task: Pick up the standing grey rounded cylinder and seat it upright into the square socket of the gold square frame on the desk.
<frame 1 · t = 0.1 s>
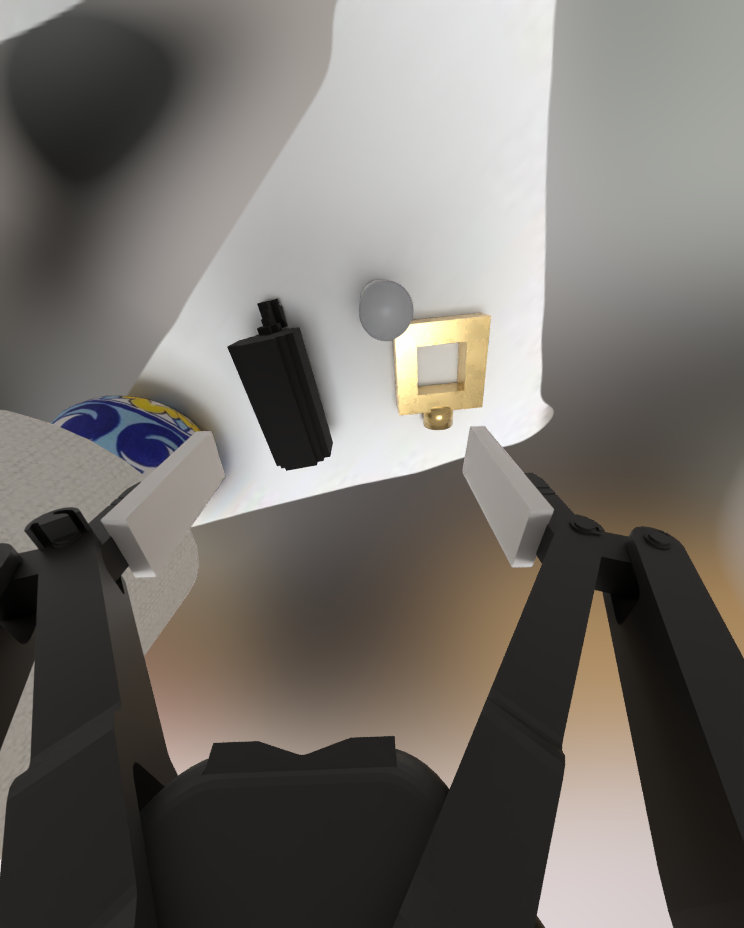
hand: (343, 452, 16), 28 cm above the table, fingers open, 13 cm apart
table lamp: (162, 444, 46), on the table
grey rounded cylinder: (378, 301, 37), on the table
security camera: (294, 376, 42), on the table
gold square frame: (435, 362, 41), on the table
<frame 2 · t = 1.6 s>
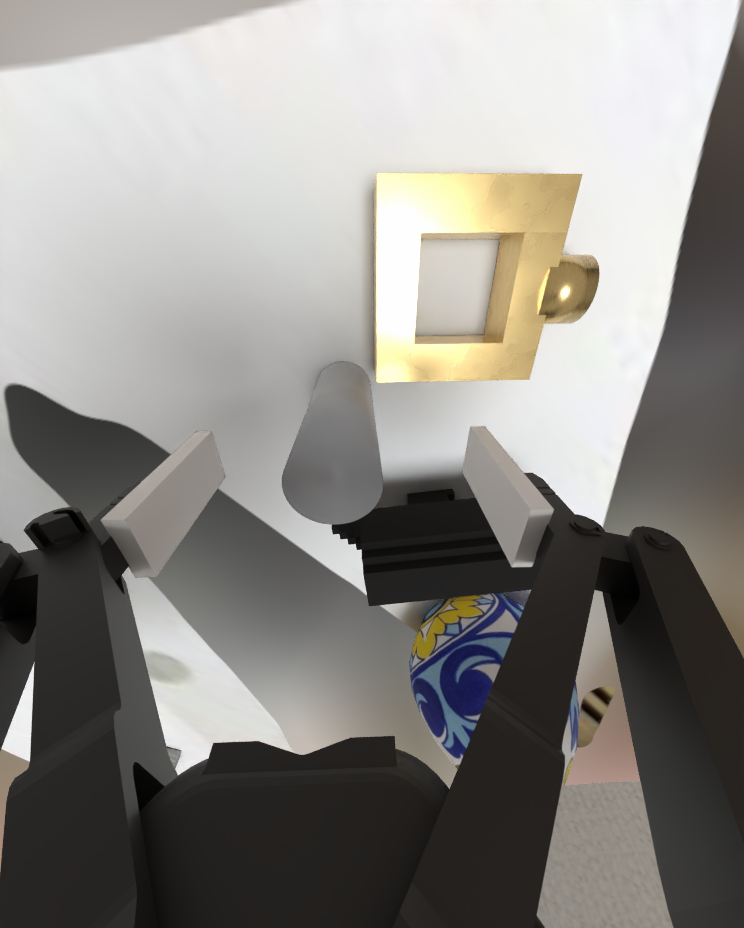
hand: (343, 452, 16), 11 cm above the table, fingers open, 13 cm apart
table lamp: (469, 621, 44), on the table
grey rounded cylinder: (344, 388, 25), on the table
security camera: (422, 499, 32), on the table
gold square frame: (450, 290, 22), on the table
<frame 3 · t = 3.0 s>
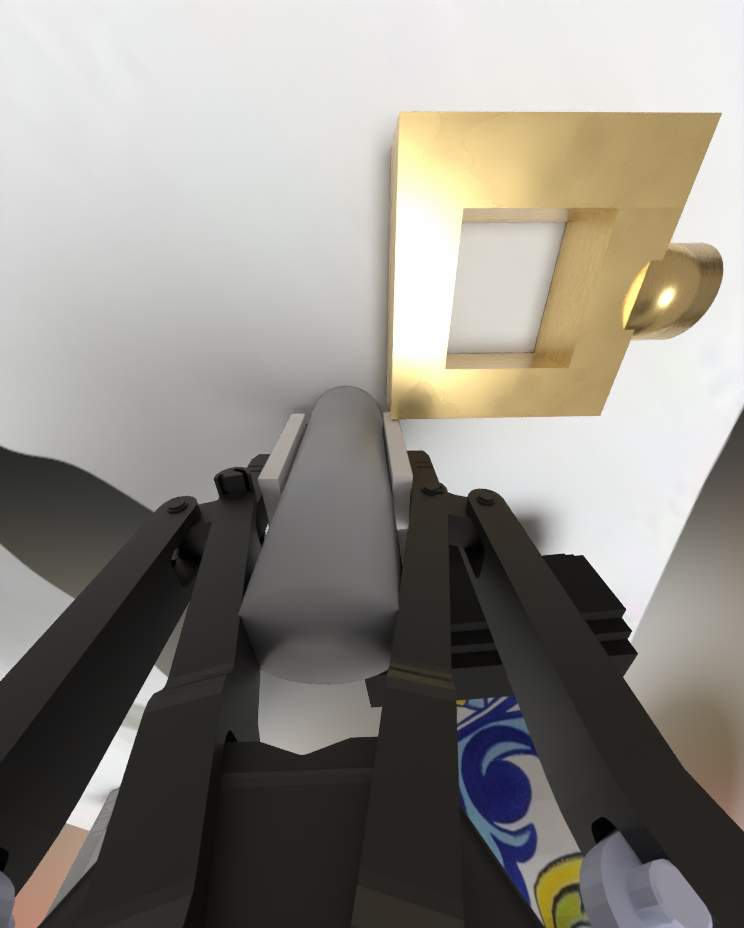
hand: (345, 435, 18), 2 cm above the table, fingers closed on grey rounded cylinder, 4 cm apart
skincare box: (138, 791, 57), on the table
table lamp: (490, 674, 38), on the table
grey rounded cylinder: (347, 420, 20), on the table, touching gripper
security camera: (437, 549, 26), on the table
gold square frame: (492, 294, 16), on the table
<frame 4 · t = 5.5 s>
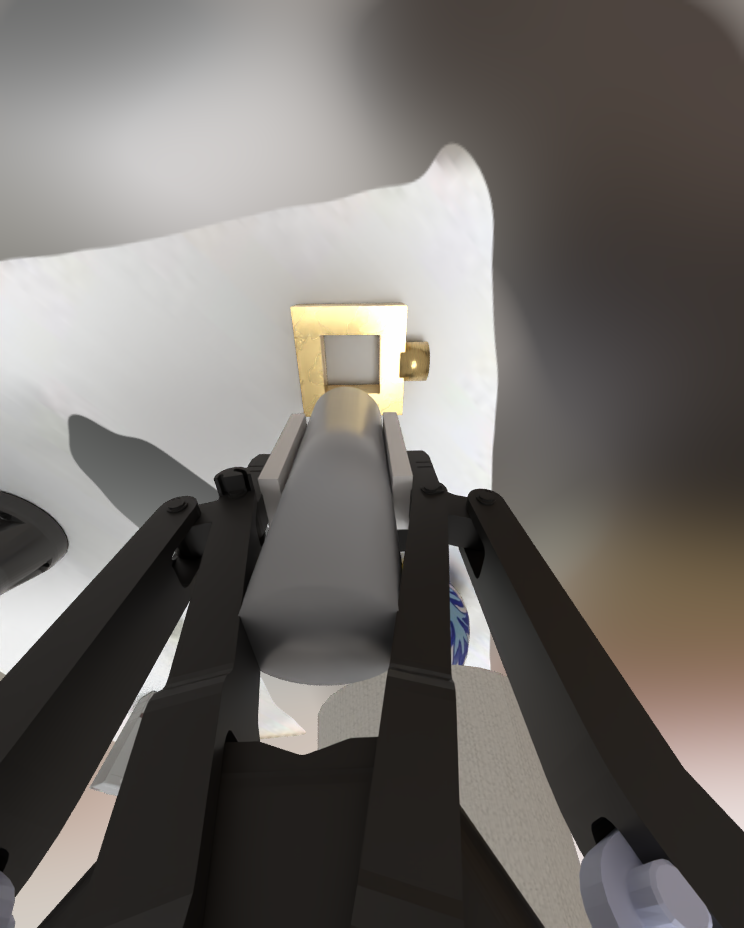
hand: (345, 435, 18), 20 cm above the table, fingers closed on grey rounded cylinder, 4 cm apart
skincare box: (160, 699, 75), on the table
table lamp: (404, 588, 56), on the table
grey rounded cylinder: (346, 420, 20), point 18 cm above the table, touching gripper
gold square frame: (352, 358, 35), on the table
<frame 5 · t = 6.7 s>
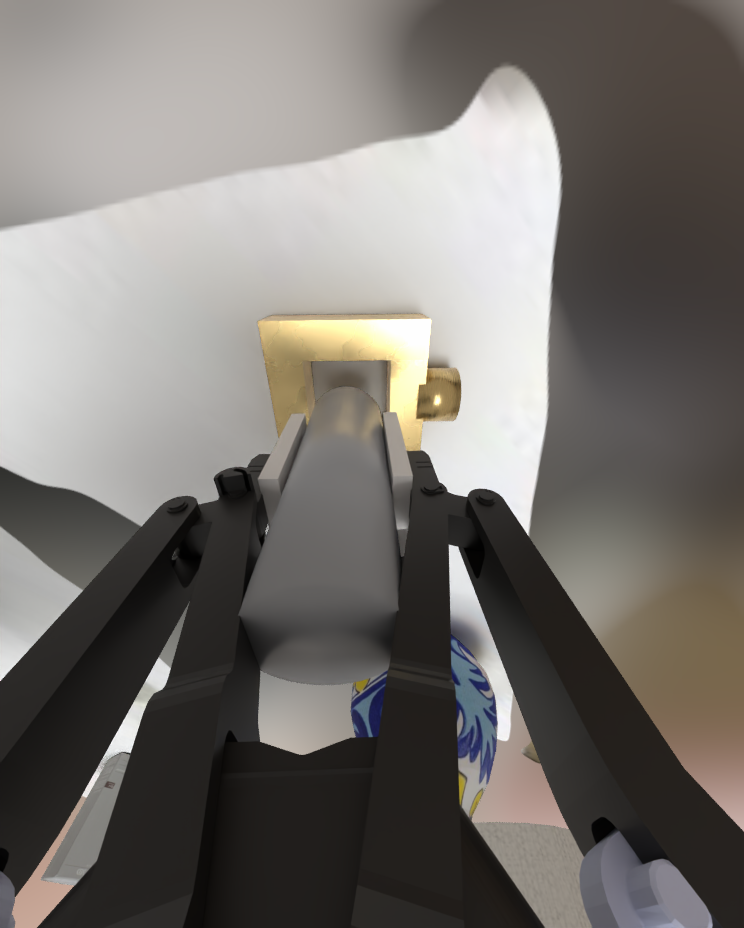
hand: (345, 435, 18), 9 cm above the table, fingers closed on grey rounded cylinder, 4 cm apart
skincare box: (132, 758, 66), on the table
table lamp: (414, 651, 47), on the table
grey rounded cylinder: (346, 420, 20), point 7 cm above the table, touching gripper
gold square frame: (350, 388, 25), on the table
when the fingers open (5 cm above the table, at t = 7.9 s): grey rounded cylinder drops 2 cm, resting in gold square frame.
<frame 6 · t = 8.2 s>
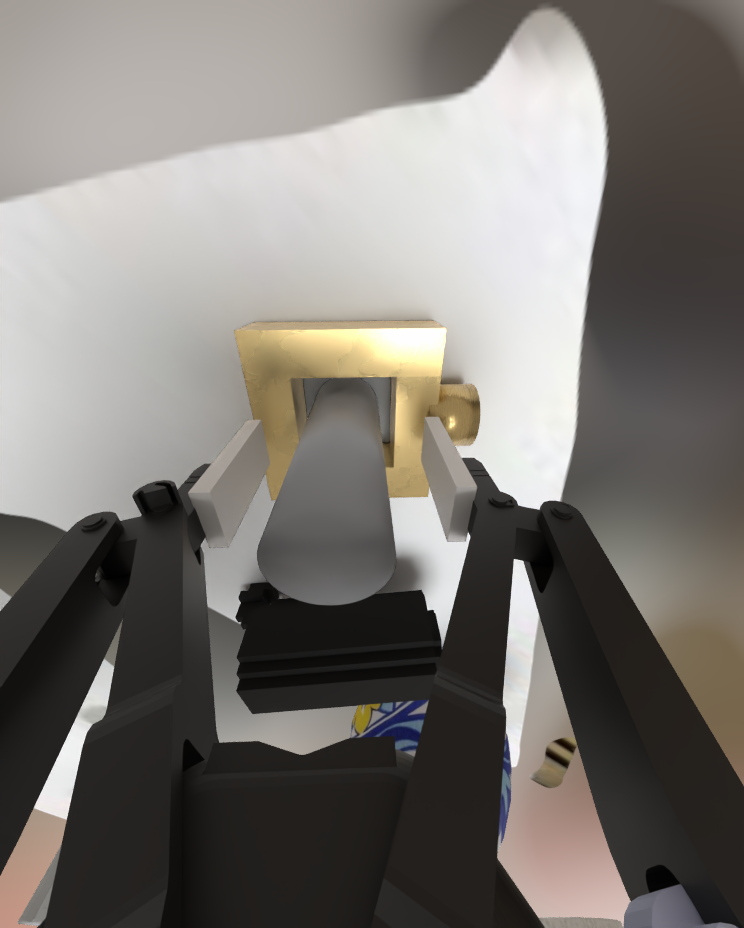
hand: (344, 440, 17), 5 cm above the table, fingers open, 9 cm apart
skincare box: (119, 785, 62), on the table
table lamp: (418, 681, 43), on the table
grey rounded cylinder: (346, 406, 22), resting in gold square frame
security camera: (335, 581, 32), on the table
gold square frame: (348, 406, 22), on the table
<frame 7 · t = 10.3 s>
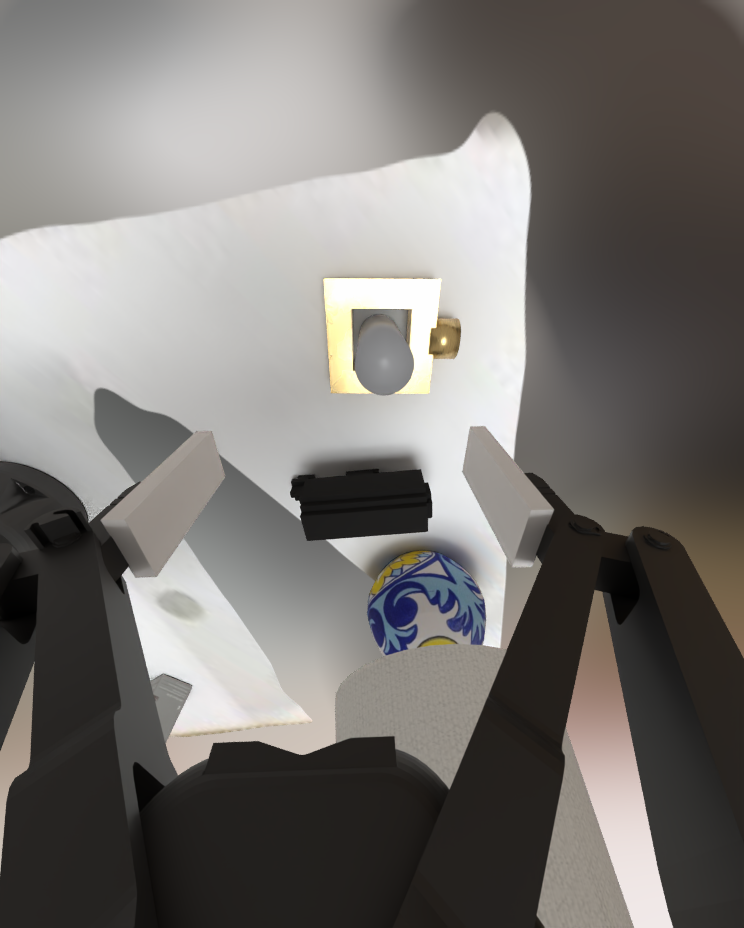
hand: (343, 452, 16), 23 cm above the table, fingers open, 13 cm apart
skincare box: (170, 682, 76), on the table
table lamp: (419, 576, 56), on the table
grey rounded cylinder: (378, 335, 35), resting in gold square frame
security camera: (357, 476, 45), on the table
gold square frame: (380, 335, 35), on the table
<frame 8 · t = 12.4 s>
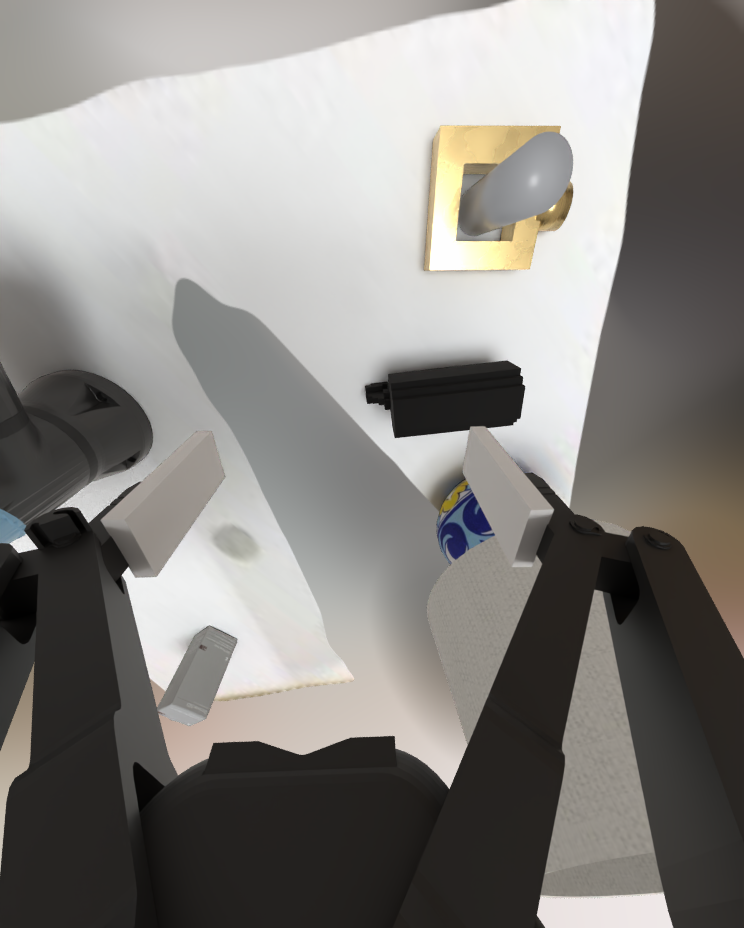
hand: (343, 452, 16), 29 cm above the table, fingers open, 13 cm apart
skincare box: (215, 636, 74), on the table
table lamp: (482, 503, 55), on the table
grey rounded cylinder: (476, 211, 34), resting in gold square frame
security camera: (430, 384, 44), on the table
gold square frame: (478, 210, 34), on the table
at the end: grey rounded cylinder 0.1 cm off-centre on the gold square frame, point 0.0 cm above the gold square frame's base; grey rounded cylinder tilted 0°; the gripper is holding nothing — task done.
